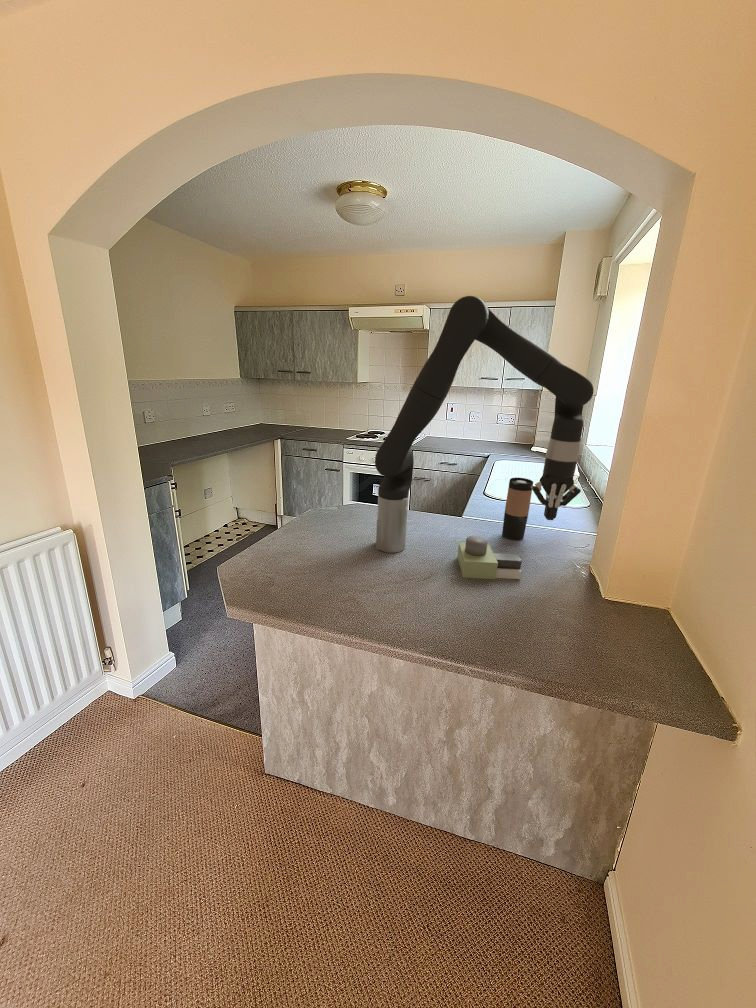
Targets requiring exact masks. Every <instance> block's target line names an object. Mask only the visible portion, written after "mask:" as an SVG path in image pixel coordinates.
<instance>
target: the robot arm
mask: <svg viewBox="0 0 756 1008" xmlns="http://www.w3.org/2000/svg"><path fill="white" fill-rule="evenodd" d="M474 341H477V342H479V343H481V344H484V346H487V347H488V348H490V349H491V350H493V351H494V352H496V353H497V354H498V355H499V356H500V357H502V358H503V359H504V360H505V361H506V362H507V363H509V364H510V366H512V367H513V368H514V369H516V370H517V371H518V372H519V373H521V374H522V375H524V376H525V378H528V379H529V380H531V381H532V382H533V383H535V384H537V385H538V386H541V387H542V388H544V389H546V390H548V392H550V394H551V393H552V395H554V396H555V401H554V419H553V422H552V423H553V424H552V427H551V433H550V438H549V442H548V444H547V448H546V452H545V459H544V464H543V469H542V475H541V477H540V478H539V481H538V482H536V483H533V484H531V488H532V493H534V495H535V496H536V498H537V499H538V501H539V502H540V503H541V504H542V505H544V512H543V516H544V518H545V519H546V520H547V521H554V519H556V518H557V514H558V510H559V508H560V507H566V506H567V505H568V504H570V502H571V501H573V499H575V498H576V497H577V496H578V495H579V494H580V493H581V491H582V490H581V489H580V488H579V487H577V486H576V485H575V481H574V476H575V472H576V467H577V463H578V459H579V453H580V449H581V447H580V446H581V445H580V444H581V440H582V439H581V438H582V434H583V430H584V420H583V409H584V405H586V404H588V403H589V402H590V400H591V399H592V398H593V395H594V392H595V391H594V386H593V383H592V382H591V380H589V378H587V377H586V376H584V375H583V374H581V373H579V372H577V370H574V369H573V368H571V367H569V366H567V365H565V364H564V363H562V362H561V361H560V360H559V359H557V358H556V357H555V356H554V355H552V354H550V353H549V352H548V351H547V350H545V349H544V348H542V346H539V345H538V344H536V343H534V342H532V341H531V340H530V339H528V338H526V337H524V336H523V335H521V334H520V333H519V332H517V331H515V330H513V329H512V328H511V327H509V326H508V325H507V324H506V323H505V322H503V321H502V320H501V319H500V318H499V317H497V315H496V314H495V313H493V311H492V310H491V309H490V308H489V307H488V306H487V304H486V302H485V301H484V300H483V299H481V298H480V297H478V296H475V295H466V296H463V297H460V298H459V299H457V300H456V301H455V302H454V303H453V304H452V305H451V307H450V310H449V312H448V314H447V317H446V320H445V323H444V326H443V328H442V330H441V334H440V335H439V338H438V341H437V342H436V345H435V346H434V349H433V350H432V352H431V353H430V355H429V357H428V358H427V360H426V362H425V363H424V365H423V367H422V368H421V369H420V371H419V374H417V376H416V379H415V380H414V382H413V384H412V386H411V388H410V390H409V393H408V395H407V397H406V399H405V401H404V403H403V405H402V407H401V409H400V411H399V413H398V415H397V418H396V420H395V422H394V424H393V426H392V428H391V430H390V431H389V433H388V434H387V436H386V437H385V438H384V441H382V443H381V445H380V446H379V448H378V450H377V451H376V454H375V457H374V465H375V469H376V471H377V472H378V474H380V475H381V476H383V479H382V480H381V483H380V484H379V486H378V490H377V495H378V496H377V517H376V518H377V519H376V530H375V531H376V534H375V537H376V538H375V550H377V551H380V552H385V553H399V552H400V553H401V552H403V551H404V550H405V549H406V542H407V525H408V510H409V509H408V507H409V506H408V505H409V492H410V489H411V487H412V483H413V473H414V463H415V462H414V458H415V457H414V452H413V450H412V445H413V444H414V442H415V440H416V439H417V437H418V436H419V435H420V434H421V433H422V432H423V430H424V429H425V428H426V427H427V426H428V425H429V424H430V423H431V421H432V420H433V419H434V417H436V415H437V414H438V412H439V410H440V408H441V406H442V405H443V403H444V402H445V399H446V397H447V396H448V393H449V391H450V390H451V388H452V385H453V383H454V380H455V378H456V374H457V372H458V369H459V367H460V365H461V362H462V360H463V358H464V356H465V355H466V354H467V352H468V351H469V349H470V347H471V346H472V344H473V343H474ZM542 489H543V490H544V492H545V497H544V495H543V494H542V492H541V491H542Z"/></svg>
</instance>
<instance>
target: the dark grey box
mask: <svg viewBox="0 0 756 1008" xmlns="http://www.w3.org/2000/svg"><path fill="white" fill-rule="evenodd" d="M493 553H494V552H493ZM494 556H495V558H496V560H497V562H498V567H497V568H502V569H520V570H521V566H522V559H521V558H520V556H519V554H518V553H517V554H515V553H514V554H513V553H499V552H497V553H496V552H495V553H494Z"/></svg>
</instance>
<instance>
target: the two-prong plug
mask: <svg viewBox="0 0 756 1008" xmlns="http://www.w3.org/2000/svg"><path fill="white" fill-rule="evenodd" d="M456 558H457V561H458V565H459V568H460V572H461V575H462V578H467V579H469V578H471V579H472V578H473V579H484V580H485V579H486V580H488V579H489V580H496V579H509V580H521V578H522V569H521V568H520V569H502V568H497V567H498V562H497V560H496V558H495V556H494V551H493V550H492V547H491V545H490V544H489V542H488V539H486V538H484V537H482V536H478V535H472V536H467V537H466V538H465V542H458V549H457V557H456Z"/></svg>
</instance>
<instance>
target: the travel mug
mask: <svg viewBox="0 0 756 1008" xmlns="http://www.w3.org/2000/svg"><path fill="white" fill-rule="evenodd" d="M531 484H534V481H533V480H531V479H529V478H526V477H511V478H509V481H508V488H507V495H506V501H505V505H504V506H505V507H504V512H503V513H504V516H503V522H502V532H501V533H502V537H503V538H505V539H508V540H513V541H520V540H523V539H524V537H525V532H526V528H527V522H528V518H529V512H530V505H531V499H532V494H533V490H532V488H531Z"/></svg>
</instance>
